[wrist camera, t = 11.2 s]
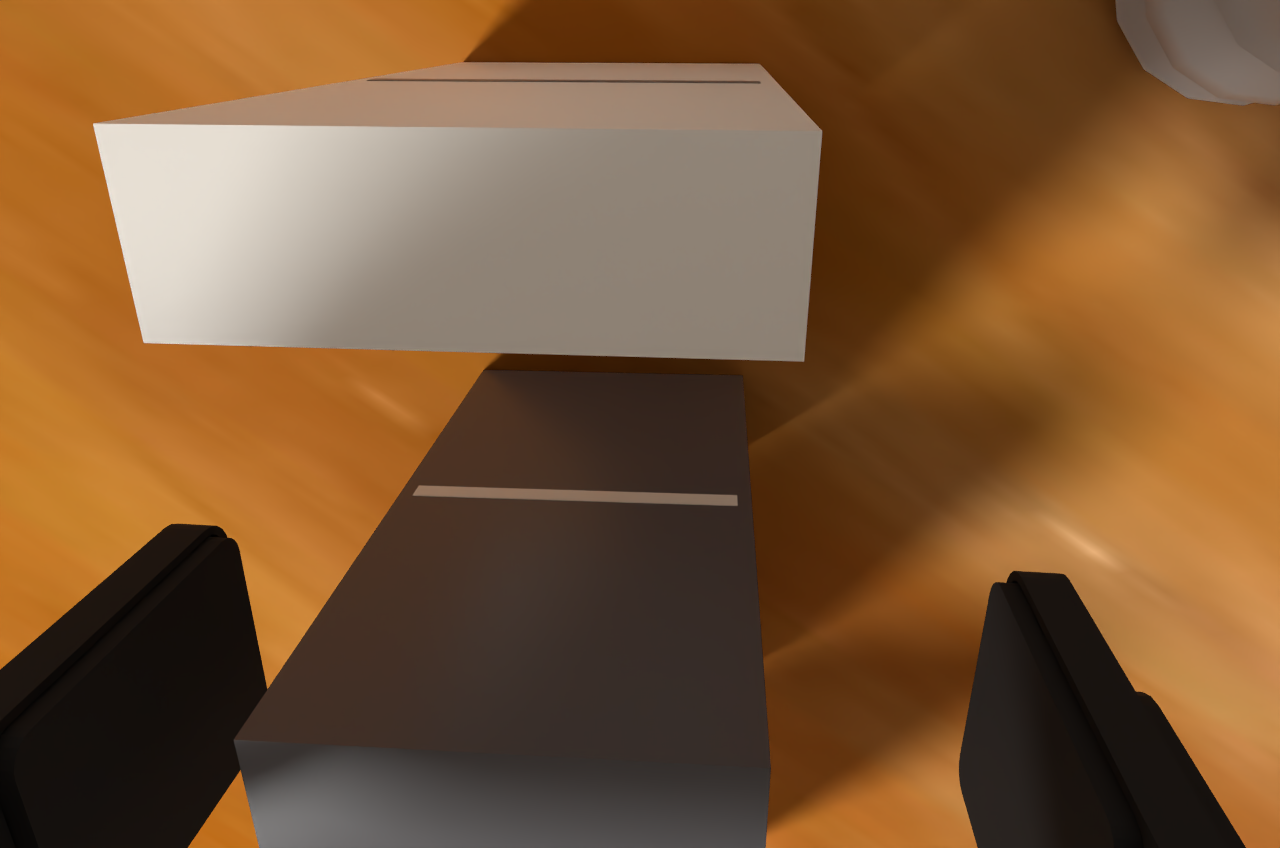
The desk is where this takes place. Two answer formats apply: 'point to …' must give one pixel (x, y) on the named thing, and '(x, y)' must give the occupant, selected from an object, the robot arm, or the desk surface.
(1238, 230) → the desk surface
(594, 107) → the domino
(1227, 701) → the desk surface
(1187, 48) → the rook chess piece
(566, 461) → the domino
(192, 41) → the desk surface
